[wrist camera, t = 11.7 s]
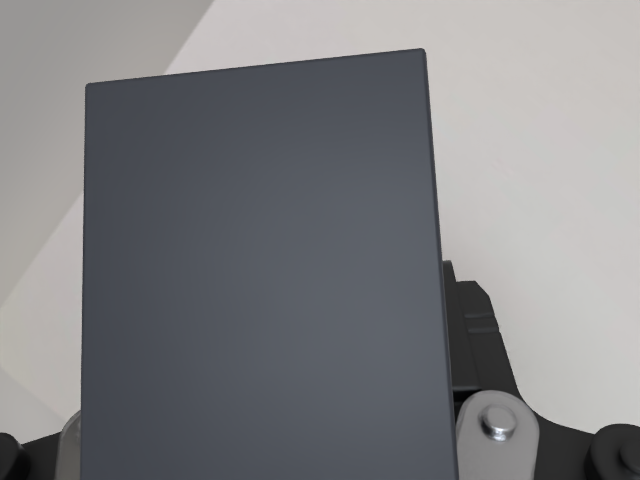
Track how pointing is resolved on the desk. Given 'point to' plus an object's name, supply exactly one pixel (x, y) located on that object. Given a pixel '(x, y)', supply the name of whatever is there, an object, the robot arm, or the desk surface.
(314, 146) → the block
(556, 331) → the desk surface
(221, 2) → the desk surface
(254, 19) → the desk surface
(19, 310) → the desk surface
